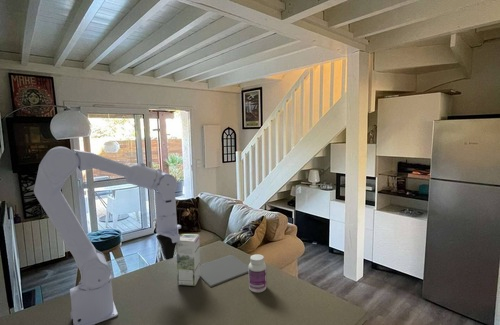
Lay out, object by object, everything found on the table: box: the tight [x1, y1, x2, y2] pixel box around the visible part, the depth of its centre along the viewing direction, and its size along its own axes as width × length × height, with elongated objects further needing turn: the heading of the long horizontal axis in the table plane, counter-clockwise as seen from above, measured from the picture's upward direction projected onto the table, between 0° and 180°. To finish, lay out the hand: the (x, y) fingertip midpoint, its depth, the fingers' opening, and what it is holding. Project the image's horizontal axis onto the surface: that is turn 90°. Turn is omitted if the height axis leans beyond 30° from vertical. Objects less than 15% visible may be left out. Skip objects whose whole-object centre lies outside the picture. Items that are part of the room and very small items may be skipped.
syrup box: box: [175, 233, 201, 287], centre depth 84 cm, size 6×6×14 cm
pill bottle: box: [248, 254, 267, 293], centre depth 80 cm, size 5×5×10 cm
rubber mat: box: [199, 254, 249, 288], centre depth 92 cm, size 16×14×1 cm
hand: (169, 258), depth 81 cm, fingers closed
